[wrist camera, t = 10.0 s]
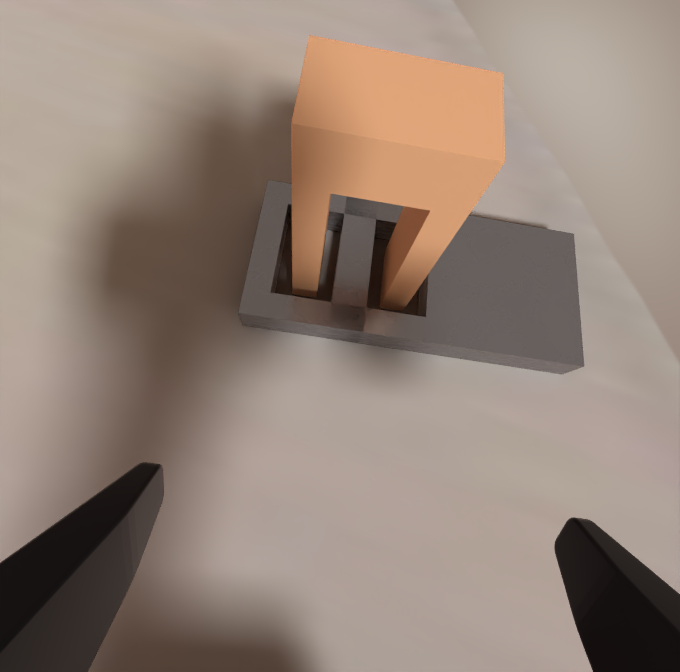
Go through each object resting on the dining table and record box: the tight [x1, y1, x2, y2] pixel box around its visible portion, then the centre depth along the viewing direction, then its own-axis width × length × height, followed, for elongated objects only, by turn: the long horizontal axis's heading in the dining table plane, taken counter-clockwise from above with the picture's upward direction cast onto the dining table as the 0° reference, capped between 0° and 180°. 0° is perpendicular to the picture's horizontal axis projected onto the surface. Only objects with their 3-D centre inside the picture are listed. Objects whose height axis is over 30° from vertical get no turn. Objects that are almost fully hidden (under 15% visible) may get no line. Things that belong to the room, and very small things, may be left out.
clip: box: [291, 35, 505, 311], centre depth 20 cm, size 7×4×13 cm, turn 83°
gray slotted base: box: [238, 180, 584, 374], centre depth 25 cm, size 20×9×2 cm, turn 83°
